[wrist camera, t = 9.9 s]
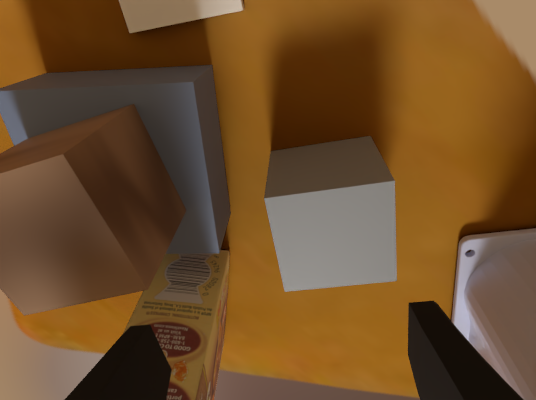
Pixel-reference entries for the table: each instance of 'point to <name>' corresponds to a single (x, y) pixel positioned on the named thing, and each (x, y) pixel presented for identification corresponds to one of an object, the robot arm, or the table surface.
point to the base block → (157, 124)
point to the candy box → (188, 320)
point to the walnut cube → (84, 213)
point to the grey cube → (332, 214)
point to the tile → (173, 11)
